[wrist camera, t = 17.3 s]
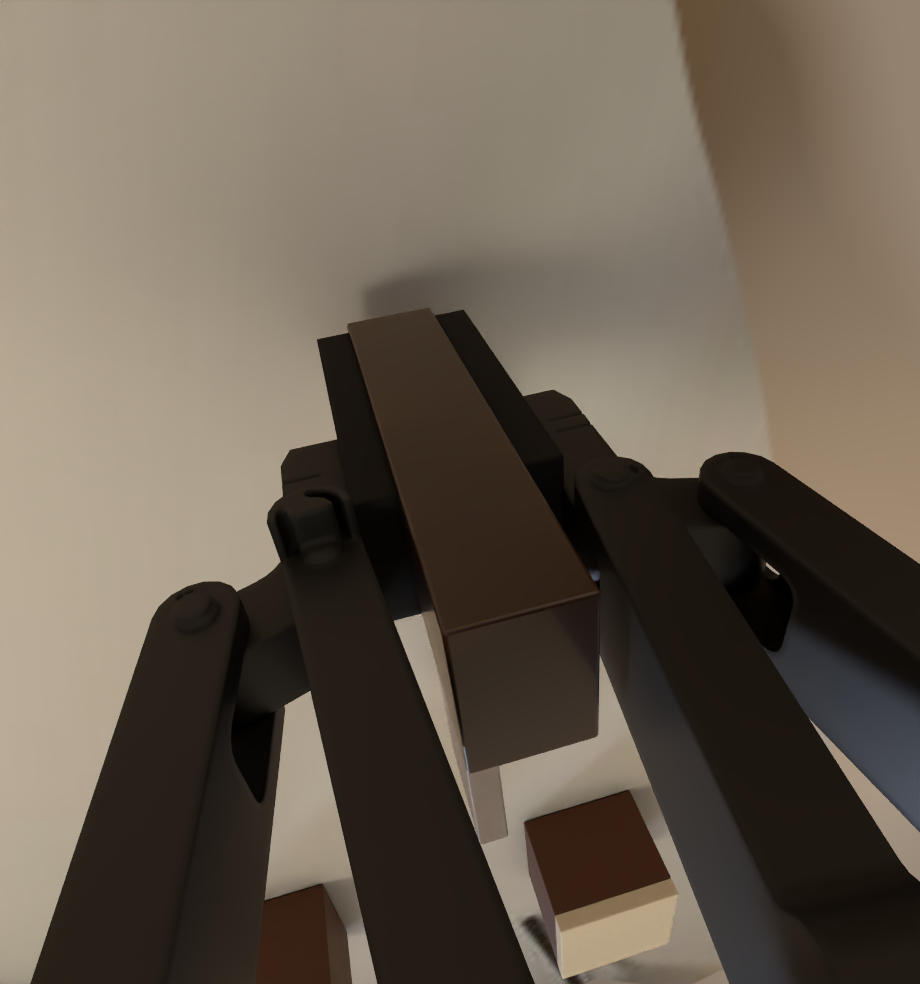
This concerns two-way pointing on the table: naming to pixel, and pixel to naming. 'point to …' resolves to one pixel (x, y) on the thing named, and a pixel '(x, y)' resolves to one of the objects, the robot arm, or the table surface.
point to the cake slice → (303, 941)
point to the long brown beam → (482, 563)
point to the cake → (599, 883)
